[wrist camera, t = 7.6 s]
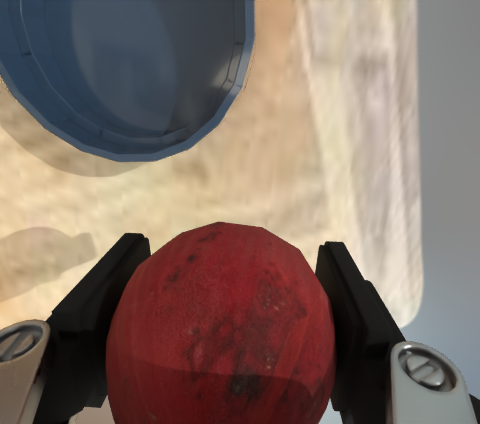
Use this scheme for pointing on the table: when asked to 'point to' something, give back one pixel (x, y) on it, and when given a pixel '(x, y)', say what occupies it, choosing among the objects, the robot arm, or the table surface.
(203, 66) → the bowl
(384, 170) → the table surface
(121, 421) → the onion
